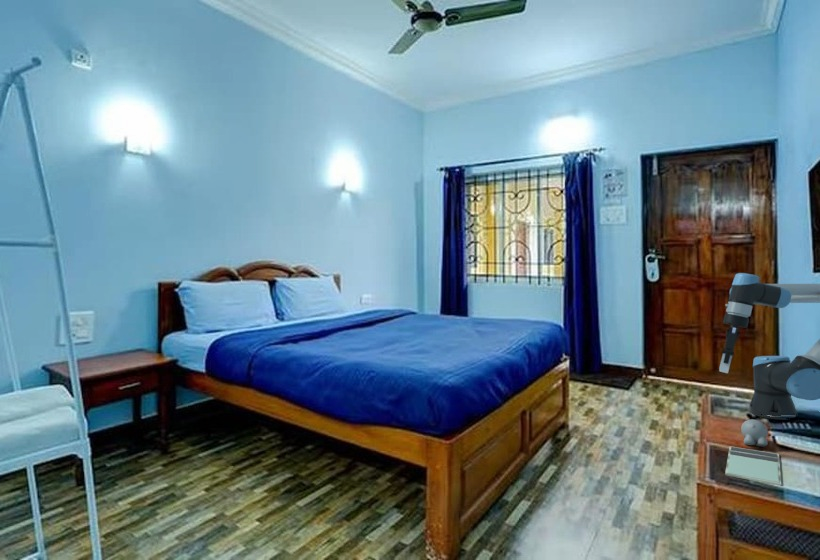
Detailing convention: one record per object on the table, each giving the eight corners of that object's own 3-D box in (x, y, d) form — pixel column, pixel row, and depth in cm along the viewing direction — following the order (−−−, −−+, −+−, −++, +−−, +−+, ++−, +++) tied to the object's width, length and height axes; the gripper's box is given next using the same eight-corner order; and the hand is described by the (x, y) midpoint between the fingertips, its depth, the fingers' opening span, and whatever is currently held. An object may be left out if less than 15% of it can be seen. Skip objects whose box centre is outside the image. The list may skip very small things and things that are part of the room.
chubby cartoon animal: (764, 448, 163) (763, 423, 166) (770, 447, 153) (768, 420, 156) (739, 445, 167) (738, 420, 169) (743, 443, 157) (741, 417, 159)
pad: (730, 455, 152) (730, 454, 152) (777, 463, 145) (777, 462, 145) (727, 473, 140) (727, 472, 140) (778, 482, 132) (778, 482, 132)
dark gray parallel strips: (731, 447, 158) (731, 446, 158) (776, 454, 151) (776, 454, 151) (730, 454, 152) (730, 453, 152) (777, 462, 145) (777, 461, 145)
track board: (729, 447, 159) (729, 446, 159) (778, 455, 151) (778, 453, 151) (725, 475, 140) (725, 473, 140) (781, 485, 132) (781, 483, 132)
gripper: (725, 314, 187) (712, 366, 188) (725, 311, 166) (710, 370, 167) (748, 318, 183) (734, 372, 184) (751, 316, 162) (736, 376, 163)
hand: (723, 371), depth 175 cm, fingers open, 13 cm apart
